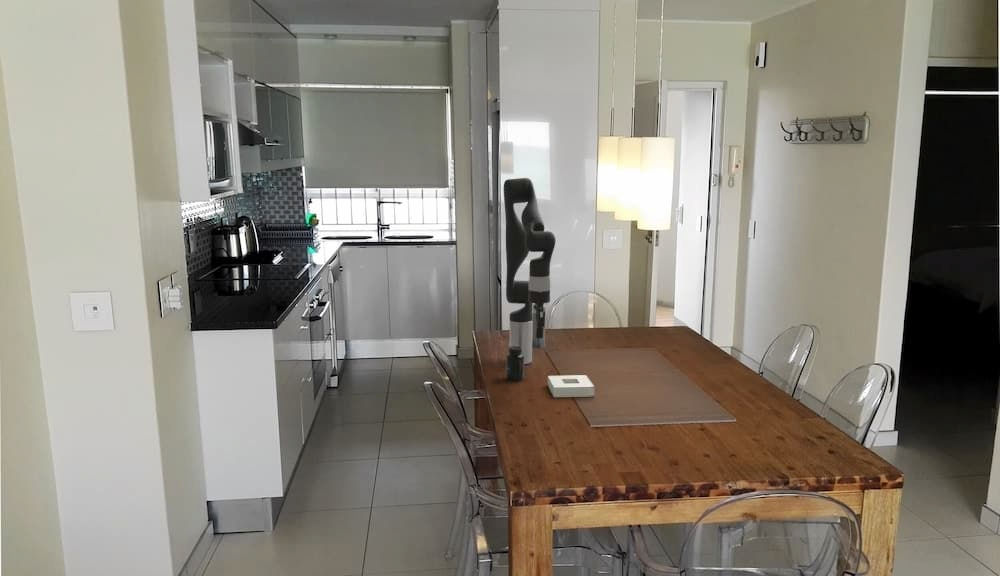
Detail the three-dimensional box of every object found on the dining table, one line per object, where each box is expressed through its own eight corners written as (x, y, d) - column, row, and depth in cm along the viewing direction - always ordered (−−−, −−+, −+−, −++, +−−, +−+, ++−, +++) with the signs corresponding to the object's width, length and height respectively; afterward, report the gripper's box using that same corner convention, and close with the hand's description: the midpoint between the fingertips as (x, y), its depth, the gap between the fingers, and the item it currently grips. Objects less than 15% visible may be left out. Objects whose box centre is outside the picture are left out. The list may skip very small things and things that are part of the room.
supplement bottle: (502, 379, 270) (502, 348, 268) (510, 375, 276) (511, 344, 274) (519, 382, 267) (519, 350, 265) (527, 377, 273) (527, 346, 271)
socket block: (547, 385, 264) (547, 375, 263) (585, 384, 265) (586, 375, 265) (554, 397, 250) (554, 387, 250) (594, 396, 251) (594, 386, 251)
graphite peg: (531, 345, 259) (531, 312, 257) (543, 345, 259) (544, 312, 257) (532, 348, 255) (533, 314, 253) (545, 348, 255) (545, 314, 253)
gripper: (526, 285, 260) (525, 332, 263) (531, 292, 246) (530, 341, 249) (547, 285, 261) (546, 331, 264) (553, 292, 247) (552, 341, 250)
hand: (538, 336), depth 256 cm, fingers closed on graphite peg, 4 cm apart
